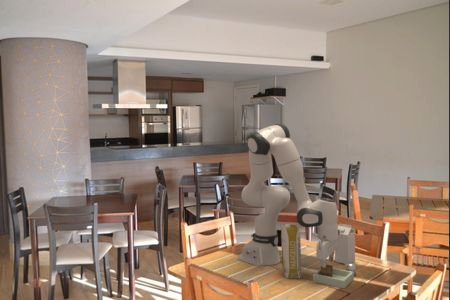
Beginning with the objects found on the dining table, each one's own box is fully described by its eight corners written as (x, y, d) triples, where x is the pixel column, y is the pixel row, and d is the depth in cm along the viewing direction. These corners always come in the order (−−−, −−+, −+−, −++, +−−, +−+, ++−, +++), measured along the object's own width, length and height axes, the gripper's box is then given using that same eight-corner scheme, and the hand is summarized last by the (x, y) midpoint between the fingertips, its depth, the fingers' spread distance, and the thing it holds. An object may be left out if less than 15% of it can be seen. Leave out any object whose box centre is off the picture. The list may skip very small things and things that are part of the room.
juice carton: (281, 272, 188) (280, 222, 187) (298, 271, 188) (297, 221, 187) (284, 279, 179) (283, 227, 177) (302, 278, 179) (301, 226, 177)
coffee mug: (273, 247, 226) (272, 229, 226) (273, 242, 235) (273, 226, 234) (293, 247, 224) (293, 230, 224) (293, 243, 233) (293, 226, 232)
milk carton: (342, 258, 205) (342, 222, 204) (355, 261, 200) (354, 224, 199) (335, 261, 200) (334, 224, 199) (348, 265, 195) (347, 227, 194)
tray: (313, 281, 176) (313, 274, 176) (323, 272, 186) (323, 265, 186) (344, 288, 168) (344, 280, 168) (353, 279, 177) (353, 271, 177)
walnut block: (329, 279, 176) (329, 268, 175) (320, 277, 178) (320, 266, 178) (332, 276, 179) (332, 265, 179) (324, 274, 181) (324, 264, 181)
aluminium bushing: (344, 274, 183) (344, 264, 182) (347, 271, 186) (347, 261, 186) (353, 276, 180) (353, 266, 180) (357, 273, 184) (357, 263, 183)
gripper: (326, 241, 168) (326, 272, 169) (341, 229, 185) (341, 257, 187) (312, 238, 172) (312, 269, 173) (328, 227, 189) (328, 255, 190)
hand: (327, 263), depth 180 cm, fingers open, 8 cm apart
